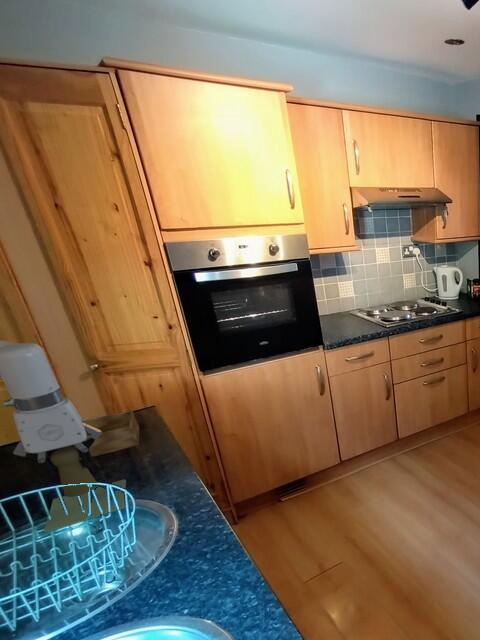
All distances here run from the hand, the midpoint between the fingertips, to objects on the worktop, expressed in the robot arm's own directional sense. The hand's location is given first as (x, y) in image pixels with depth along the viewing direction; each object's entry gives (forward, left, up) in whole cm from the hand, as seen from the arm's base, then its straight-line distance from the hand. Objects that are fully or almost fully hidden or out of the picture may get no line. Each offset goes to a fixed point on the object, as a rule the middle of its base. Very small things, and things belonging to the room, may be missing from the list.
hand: (71, 468), depth 106 cm
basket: (+3, +34, -11) cm, 36 cm away
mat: (0, 0, -11) cm, 11 cm away
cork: (0, 0, -6) cm, 6 cm away
